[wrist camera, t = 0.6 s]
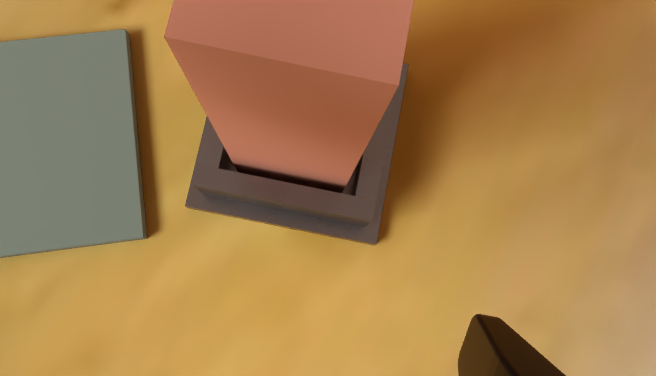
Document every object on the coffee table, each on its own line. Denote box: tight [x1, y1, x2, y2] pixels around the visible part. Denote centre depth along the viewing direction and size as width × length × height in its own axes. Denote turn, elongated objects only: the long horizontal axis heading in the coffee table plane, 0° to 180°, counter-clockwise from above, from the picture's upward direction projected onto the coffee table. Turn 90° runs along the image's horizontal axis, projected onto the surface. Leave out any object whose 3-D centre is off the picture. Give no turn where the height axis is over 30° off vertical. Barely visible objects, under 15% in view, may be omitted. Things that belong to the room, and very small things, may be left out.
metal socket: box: [185, 63, 409, 245], centre depth 22 cm, size 8×8×3 cm
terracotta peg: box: [164, 0, 414, 193], centre depth 17 cm, size 4×4×13 cm
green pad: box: [0, 29, 147, 258], centre depth 23 cm, size 9×9×1 cm
